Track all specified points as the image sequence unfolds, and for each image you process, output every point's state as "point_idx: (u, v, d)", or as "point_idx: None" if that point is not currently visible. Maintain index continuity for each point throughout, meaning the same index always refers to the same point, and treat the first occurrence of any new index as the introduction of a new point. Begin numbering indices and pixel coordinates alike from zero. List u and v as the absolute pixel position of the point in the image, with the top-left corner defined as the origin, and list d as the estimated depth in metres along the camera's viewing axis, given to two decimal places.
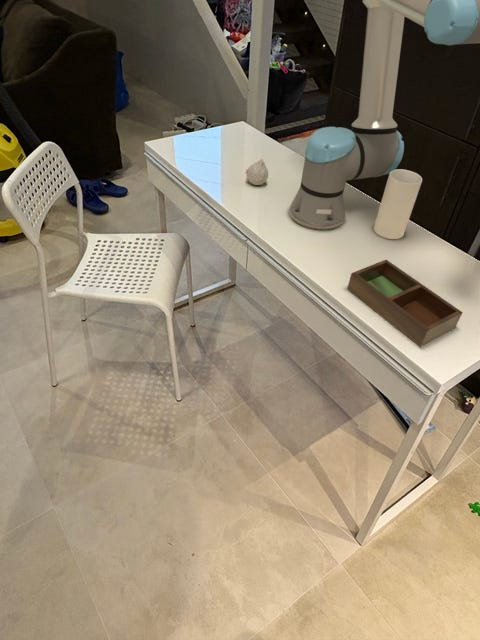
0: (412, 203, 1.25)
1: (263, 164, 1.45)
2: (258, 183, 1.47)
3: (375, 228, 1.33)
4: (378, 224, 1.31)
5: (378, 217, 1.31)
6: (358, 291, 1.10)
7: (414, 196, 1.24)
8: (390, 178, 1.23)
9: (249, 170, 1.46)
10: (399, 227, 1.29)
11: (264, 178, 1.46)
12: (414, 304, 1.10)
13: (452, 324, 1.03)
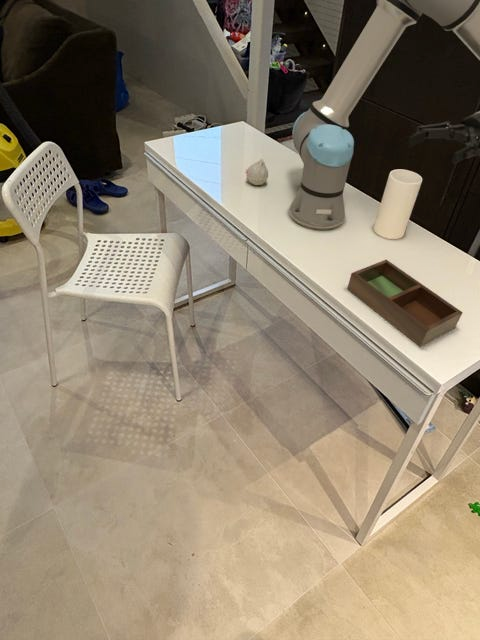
0: (412, 203, 1.25)
1: (263, 164, 1.45)
2: (258, 183, 1.47)
3: (375, 228, 1.33)
4: (378, 224, 1.31)
5: (378, 217, 1.31)
6: (358, 291, 1.10)
7: (414, 196, 1.24)
8: (390, 178, 1.23)
9: (249, 170, 1.46)
10: (399, 227, 1.29)
11: (264, 178, 1.46)
12: (414, 304, 1.10)
13: (452, 324, 1.03)
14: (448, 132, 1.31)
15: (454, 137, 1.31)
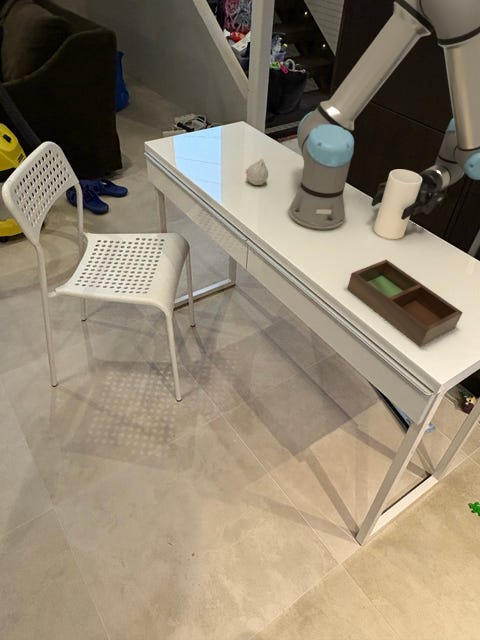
0: (412, 203, 1.25)
1: (263, 164, 1.45)
2: (258, 183, 1.47)
3: (375, 228, 1.33)
4: (378, 224, 1.31)
5: (378, 217, 1.31)
6: (358, 291, 1.10)
7: (414, 196, 1.24)
8: (390, 178, 1.23)
9: (249, 170, 1.46)
10: (399, 227, 1.29)
11: (264, 178, 1.46)
12: (414, 304, 1.10)
13: (452, 324, 1.03)
14: None
15: None
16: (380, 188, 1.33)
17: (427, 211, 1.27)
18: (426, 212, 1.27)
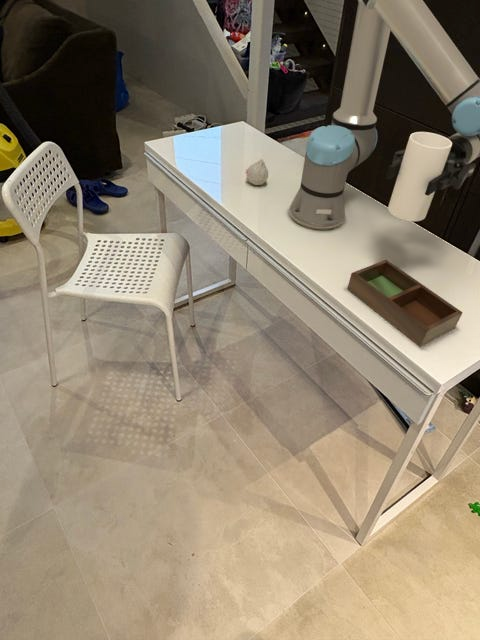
0: (439, 174, 0.98)
1: (263, 164, 1.45)
2: (258, 183, 1.47)
3: (390, 208, 1.06)
4: (394, 203, 1.04)
5: (394, 194, 1.04)
6: (358, 291, 1.10)
7: (442, 165, 0.97)
8: (411, 142, 0.96)
9: (249, 170, 1.46)
10: (421, 206, 1.02)
11: (264, 178, 1.46)
12: (414, 304, 1.10)
13: (452, 324, 1.03)
14: None
15: None
16: (396, 158, 1.06)
17: (457, 185, 1.00)
18: (456, 186, 1.00)
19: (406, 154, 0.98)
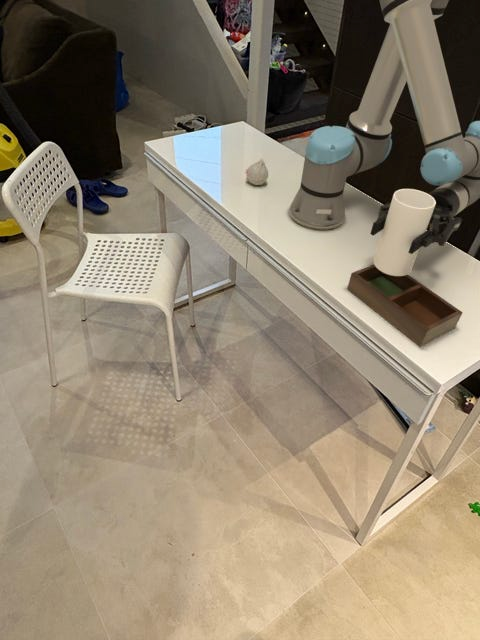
0: (423, 232, 0.98)
1: (263, 164, 1.45)
2: (258, 183, 1.47)
3: (375, 262, 1.06)
4: (379, 257, 1.04)
5: (379, 248, 1.04)
6: (358, 291, 1.10)
7: (425, 224, 0.97)
8: (394, 201, 0.96)
9: (249, 170, 1.46)
10: (406, 262, 1.02)
11: (264, 178, 1.46)
12: (414, 304, 1.10)
13: (452, 324, 1.03)
14: None
15: None
16: (381, 211, 1.06)
17: (442, 242, 0.99)
18: (440, 243, 0.99)
19: (390, 212, 0.98)
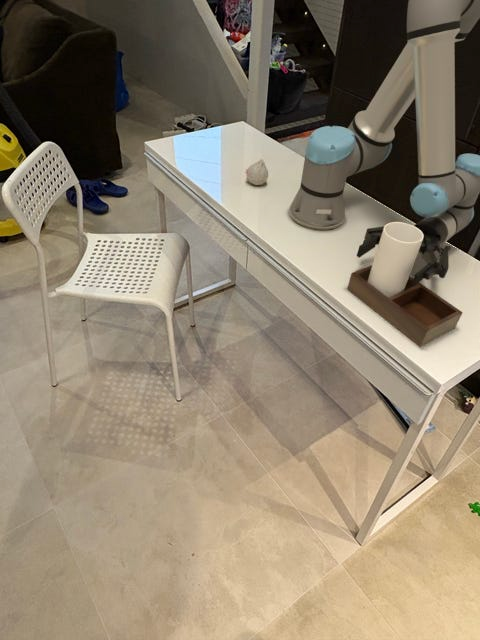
0: (411, 264, 1.03)
1: (263, 164, 1.45)
2: (258, 183, 1.47)
3: None
4: None
5: (370, 277, 1.09)
6: (358, 291, 1.10)
7: (414, 256, 1.02)
8: (384, 234, 1.01)
9: (249, 170, 1.46)
10: (396, 291, 1.07)
11: (264, 178, 1.46)
12: (414, 304, 1.10)
13: (452, 324, 1.03)
14: None
15: None
16: (367, 234, 1.13)
17: (443, 274, 1.04)
18: (442, 276, 1.04)
19: (380, 244, 1.03)
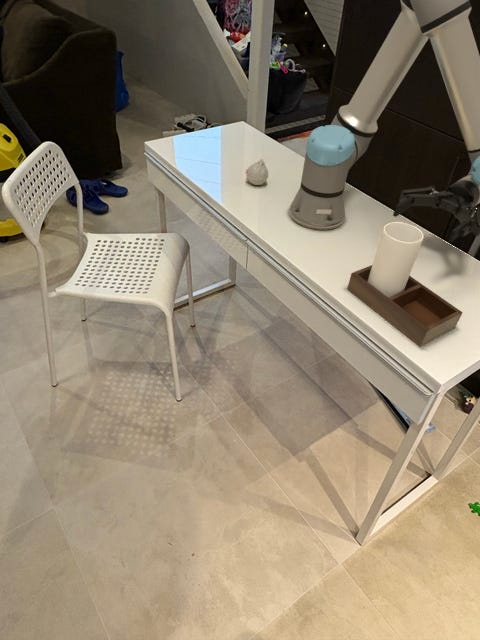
0: (411, 264, 1.03)
1: (263, 164, 1.45)
2: (258, 183, 1.47)
3: None
4: None
5: (370, 277, 1.09)
6: (358, 291, 1.10)
7: (414, 256, 1.02)
8: (384, 234, 1.01)
9: (249, 170, 1.46)
10: (396, 291, 1.07)
11: (264, 178, 1.46)
12: (414, 304, 1.10)
13: (452, 324, 1.03)
14: (435, 200, 1.16)
15: (442, 206, 1.15)
16: (401, 195, 1.16)
17: (478, 232, 1.08)
18: (477, 233, 1.08)
19: (380, 244, 1.03)
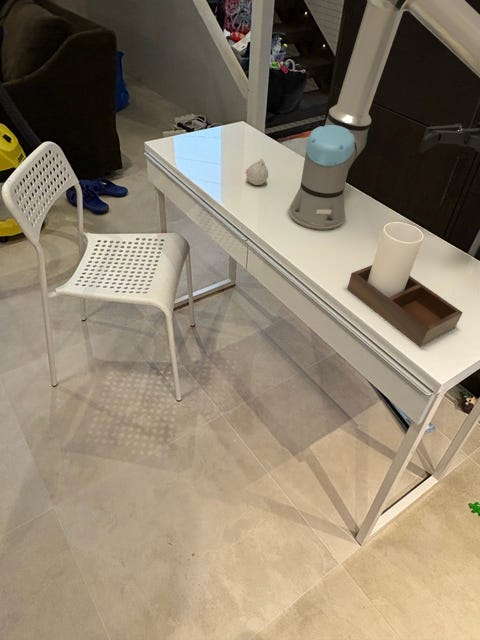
0: (411, 264, 1.03)
1: (263, 164, 1.45)
2: (258, 183, 1.47)
3: None
4: None
5: (370, 277, 1.09)
6: (358, 291, 1.10)
7: (414, 256, 1.02)
8: (384, 234, 1.01)
9: (249, 170, 1.46)
10: (396, 291, 1.07)
11: (264, 178, 1.46)
12: (414, 304, 1.10)
13: (452, 324, 1.03)
14: (463, 136, 1.07)
15: (470, 143, 1.07)
16: (427, 132, 1.07)
17: None
18: None
19: (380, 244, 1.03)
